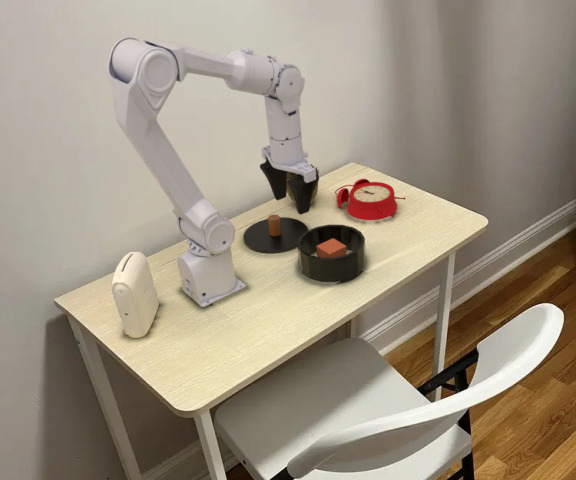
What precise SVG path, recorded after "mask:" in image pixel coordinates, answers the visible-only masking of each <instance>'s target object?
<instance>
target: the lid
mask: <svg viewBox="0 0 576 480" xmlns="http://www.w3.org/2000/svg"><path fill="white" fill-rule="evenodd" d="M306 231H309V228H308V226H307V224H306V223H304V222H303V221H301V220H299V219H297V218H292V217H286V216H285V217H284V216H280V215H279V214H270V215H268V217H267V218H265V219H262V220H259V221H257V222H254V223H253V224H251V225H250V226H248V228H246V229H245V230H244V233H243V237H242V240H243V243H244V245H245V246H246V247H247V248H248V249H249V250H251V251H253V252H256V253H261V254H279V253H285V252H289V251H291V250H294V249H296V248H298V247H297V244H298V241H299V238H300V237H301V236H302V235H303V234H304V233H305V232H306Z"/></svg>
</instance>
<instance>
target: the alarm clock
mask: <svg viewBox="0 0 576 480" xmlns="http://www.w3.org/2000/svg"><path fill="white" fill-rule="evenodd" d="M348 187H352V188H351V189H350V191H349V189H348ZM337 192H338V193H337ZM334 194H335V195H336V196H335V197H336V204H337V207H338V208H339V209H343V207H342V204H343V203H348V204H347V206H346V212H347V214H349V216H351V217H353V218H355V219H357V220H362V221H379V220H383V219H386V218H388V217H391V218H395V216H394V214H395V213H396V212H397V210H398V203H397V202H396V200H405V201H406V197H405V196H404V197H399V196H395V190H394V188H393V187H392V185H390V184H388V183H385V182H381V181H370V180H368V179H367V178H359V179H357V180H356V181H355V182H354V183H353V184H346V185H343V186H340V187H337V189H336V190H335V191H334Z"/></svg>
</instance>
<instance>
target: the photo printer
mask: <svg viewBox="0 0 576 480" xmlns="http://www.w3.org/2000/svg"><path fill="white" fill-rule="evenodd" d="M111 279H112V280H111V286H110V287H111V289H110V290H111V295H112V296H113V300H114V302H115V305H116V309H117V312H118V315H119V318H120V322H121V324H122V327H123V330H124V333H125V335H127V336H128V337H130V338H132V339H140V338H143V337H144V336H146V335H147V334H148V332H149V330H150V328H151V326H152V324H153V322H154V320H155V317H156V315H157V312H158V310H159V305H160V303H159V302H160V301H159V297H158V293H157V290H156V285H155V283H154V279H153V275H152V271H151V268H150V265H149V261H148V259H147V257H146V256H145V255H144V254H143V252H141V251H130V252H128V253H126V254H125V255H124V256H123V257H122V259H121V260H120V261H119V263H118V264H117V267H116V268H115V271H114V273H113V277H112V278H111Z"/></svg>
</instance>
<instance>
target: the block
mask: <svg viewBox="0 0 576 480" xmlns="http://www.w3.org/2000/svg"><path fill="white" fill-rule="evenodd" d="M316 248H317V252H316V256H317V257H321V258H334V257H339V256H344V255H347V254H348V252H347V251H348V250H347V249H346V246H345V245H344V244H342V243H340V242H339V241H337V240H335V239H334V238H333V239H330V240H328V241H326V242H324V243H322V244H320V245H317V246H316Z"/></svg>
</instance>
